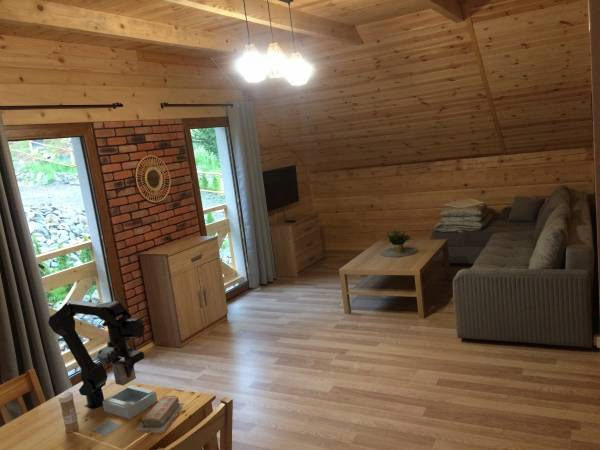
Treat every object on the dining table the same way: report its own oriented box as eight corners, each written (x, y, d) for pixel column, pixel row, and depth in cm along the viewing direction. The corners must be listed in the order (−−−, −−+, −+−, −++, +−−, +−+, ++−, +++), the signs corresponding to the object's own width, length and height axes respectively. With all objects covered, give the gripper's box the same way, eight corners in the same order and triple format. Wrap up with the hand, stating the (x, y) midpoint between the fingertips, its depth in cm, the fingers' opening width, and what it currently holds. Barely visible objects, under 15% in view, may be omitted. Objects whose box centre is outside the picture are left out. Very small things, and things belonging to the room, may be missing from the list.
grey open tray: (104, 412, 195) (102, 400, 194) (132, 395, 205) (130, 384, 205) (129, 420, 187) (127, 407, 186) (157, 402, 198) (155, 390, 197)
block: (115, 384, 193) (112, 363, 191) (128, 376, 198) (124, 356, 196) (123, 385, 190) (119, 365, 189) (135, 378, 195) (132, 358, 194)
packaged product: (158, 394, 195) (183, 394, 193) (160, 405, 196) (185, 406, 194) (133, 420, 178) (160, 421, 175) (135, 433, 179) (162, 434, 176)
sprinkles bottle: (62, 432, 184) (55, 397, 182) (72, 425, 188) (65, 390, 186) (72, 433, 182) (65, 398, 180) (82, 426, 186) (75, 391, 184)
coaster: (92, 432, 182) (91, 431, 181) (108, 422, 187) (108, 420, 187) (104, 437, 178) (104, 435, 178) (121, 426, 183) (121, 424, 183)
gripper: (82, 342, 189) (90, 382, 192) (117, 348, 179) (125, 390, 182) (107, 330, 198) (114, 369, 201) (142, 336, 189) (149, 376, 191)
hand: (125, 376), depth 194 cm, fingers closed on block, 4 cm apart
